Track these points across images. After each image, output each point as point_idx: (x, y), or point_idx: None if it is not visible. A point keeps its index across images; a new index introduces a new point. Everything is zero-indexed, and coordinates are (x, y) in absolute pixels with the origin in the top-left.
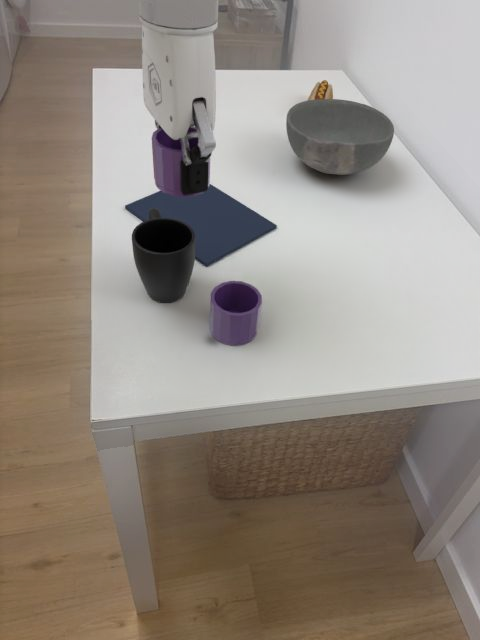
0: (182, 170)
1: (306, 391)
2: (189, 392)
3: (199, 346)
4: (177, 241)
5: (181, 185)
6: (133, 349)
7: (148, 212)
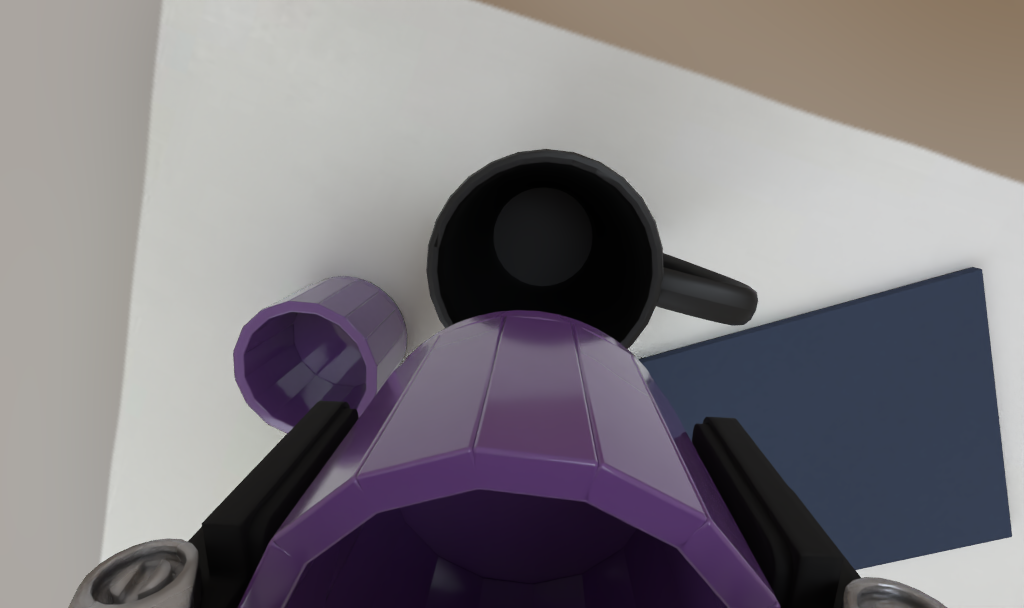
0: (236, 489)
1: (127, 384)
2: (189, 149)
3: (318, 232)
4: (597, 324)
5: (306, 422)
6: (361, 70)
7: (902, 324)
